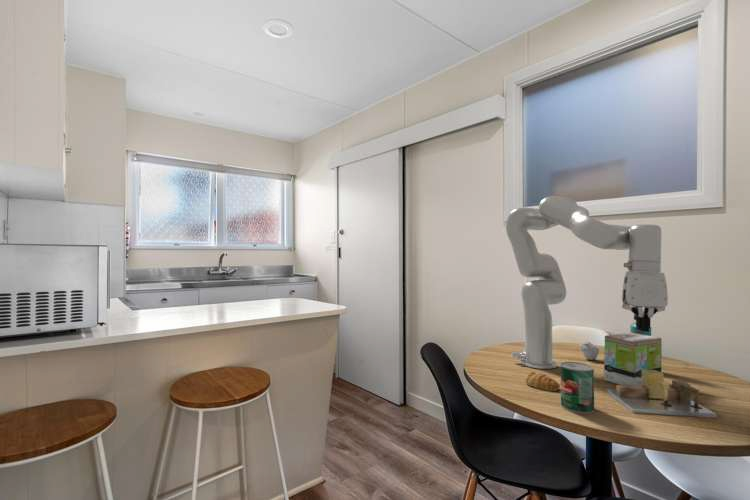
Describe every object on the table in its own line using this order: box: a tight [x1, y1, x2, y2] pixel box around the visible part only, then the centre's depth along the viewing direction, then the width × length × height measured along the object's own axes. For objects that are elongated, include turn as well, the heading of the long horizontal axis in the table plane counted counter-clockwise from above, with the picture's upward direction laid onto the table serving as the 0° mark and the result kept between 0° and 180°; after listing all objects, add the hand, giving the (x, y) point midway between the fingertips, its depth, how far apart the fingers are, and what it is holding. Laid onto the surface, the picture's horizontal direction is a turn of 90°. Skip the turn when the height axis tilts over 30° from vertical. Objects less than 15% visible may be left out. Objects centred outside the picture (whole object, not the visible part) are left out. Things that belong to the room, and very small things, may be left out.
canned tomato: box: [559, 361, 595, 415], centre depth 98 cm, size 8×8×11 cm
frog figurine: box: [579, 341, 600, 361], centre depth 146 cm, size 6×7×7 cm
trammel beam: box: [615, 379, 700, 407], centre depth 101 cm, size 17×8×4 cm, turn 81°
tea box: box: [603, 332, 663, 387], centre depth 120 cm, size 15×10×15 cm, turn 117°
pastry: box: [525, 371, 561, 392], centre depth 114 cm, size 9×7×4 cm
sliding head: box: [642, 370, 670, 404], centre depth 101 cm, size 4×8×7 cm, turn 171°
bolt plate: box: [607, 389, 718, 419], centre depth 100 cm, size 19×14×1 cm
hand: (642, 330), depth 107 cm, fingers closed
